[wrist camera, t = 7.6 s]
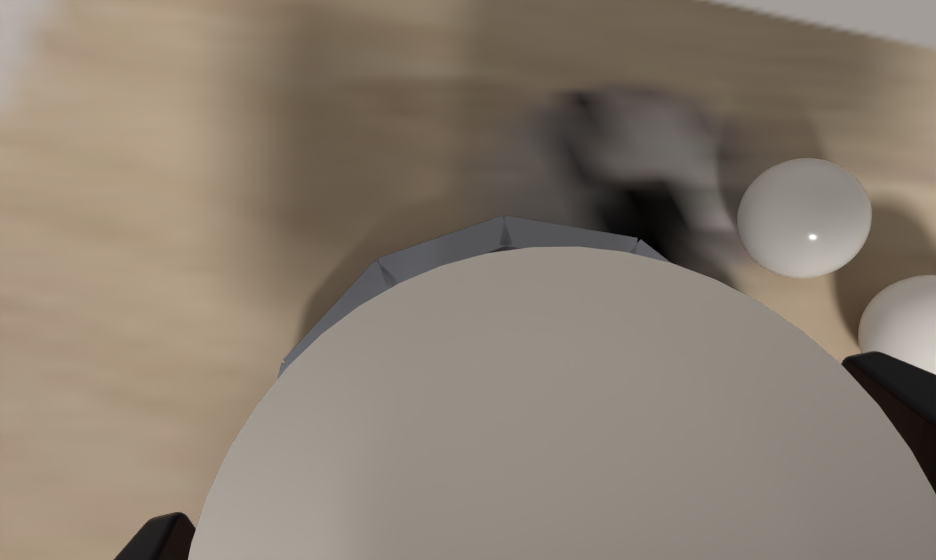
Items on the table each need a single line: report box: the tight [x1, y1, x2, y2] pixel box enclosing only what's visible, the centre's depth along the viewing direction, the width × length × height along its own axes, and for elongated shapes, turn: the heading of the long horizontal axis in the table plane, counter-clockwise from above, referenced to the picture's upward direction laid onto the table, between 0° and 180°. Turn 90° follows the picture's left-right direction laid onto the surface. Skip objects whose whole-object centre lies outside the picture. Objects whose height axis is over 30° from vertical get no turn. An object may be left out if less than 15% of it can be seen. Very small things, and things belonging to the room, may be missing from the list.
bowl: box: [278, 215, 670, 378], centre depth 16 cm, size 13×13×2 cm
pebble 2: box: [858, 275, 936, 374], centre depth 16 cm, size 3×3×3 cm
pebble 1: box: [737, 158, 872, 278], centre depth 16 cm, size 3×3×3 cm
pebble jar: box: [188, 247, 936, 560], centre depth 10 cm, size 6×6×12 cm
